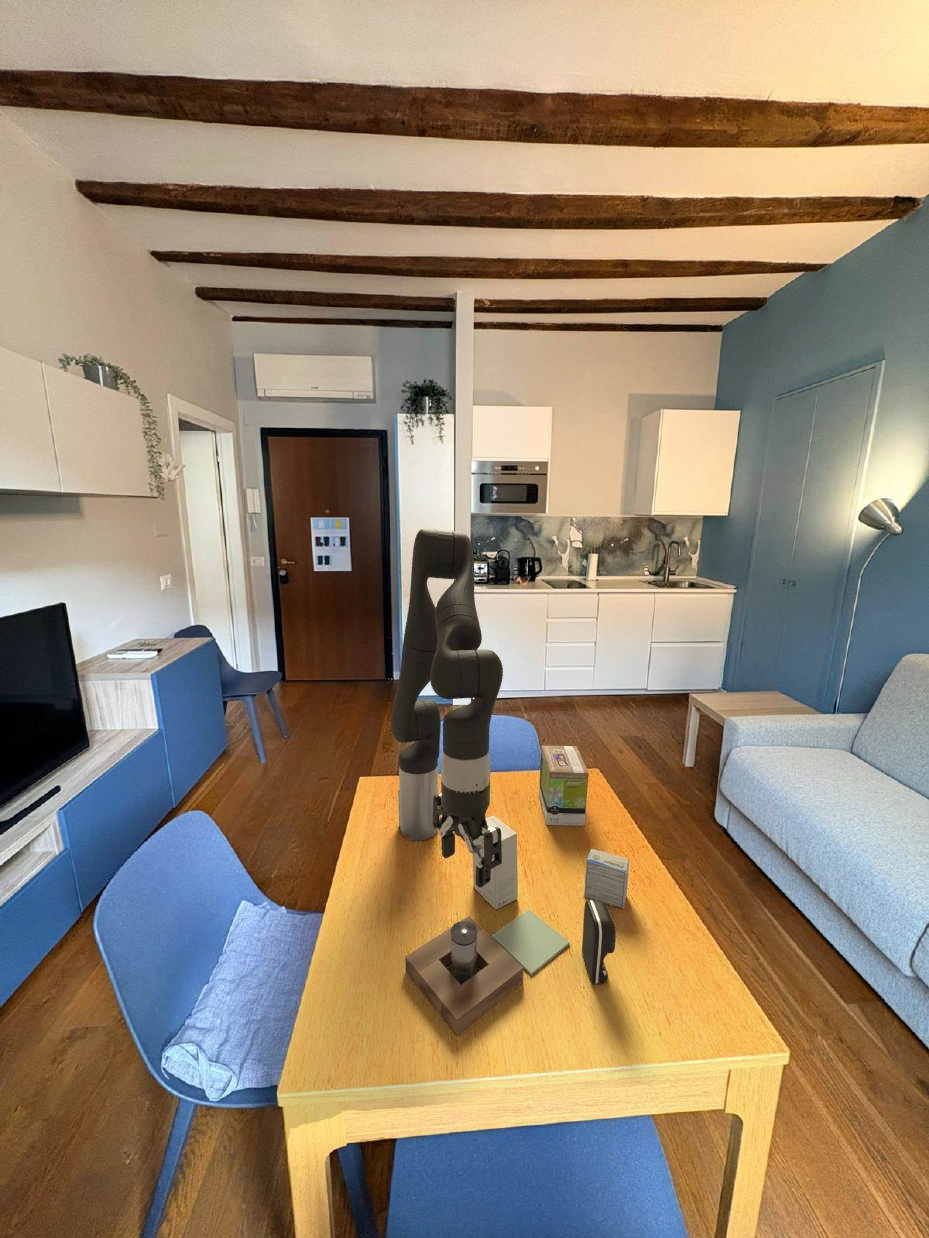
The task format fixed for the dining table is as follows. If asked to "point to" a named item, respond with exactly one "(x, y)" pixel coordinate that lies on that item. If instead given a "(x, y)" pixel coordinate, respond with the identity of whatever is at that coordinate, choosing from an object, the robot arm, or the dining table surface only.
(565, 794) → the tea box
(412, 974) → the bore block
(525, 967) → the mat
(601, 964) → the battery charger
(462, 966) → the shiny metal cylinder
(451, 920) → the dining table surface
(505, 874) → the skincare box
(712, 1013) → the dining table surface
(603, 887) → the medicine box
